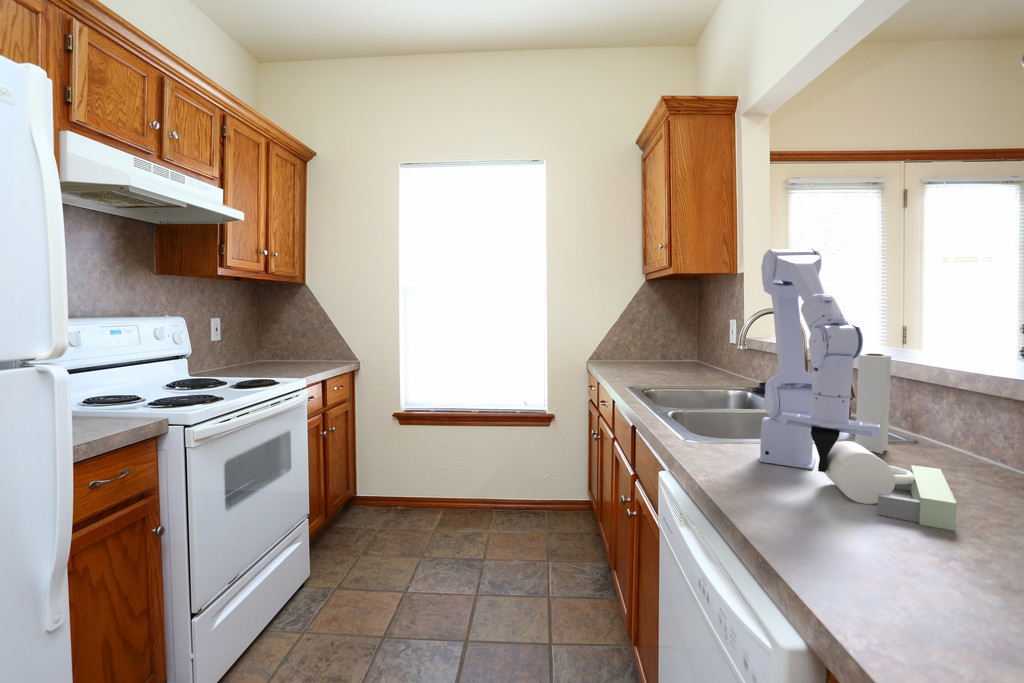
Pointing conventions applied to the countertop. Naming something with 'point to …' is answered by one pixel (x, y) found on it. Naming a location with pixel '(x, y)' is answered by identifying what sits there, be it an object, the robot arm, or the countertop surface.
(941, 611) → the countertop surface
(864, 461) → the mug
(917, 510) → the green forked block
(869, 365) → the paper towel roll
